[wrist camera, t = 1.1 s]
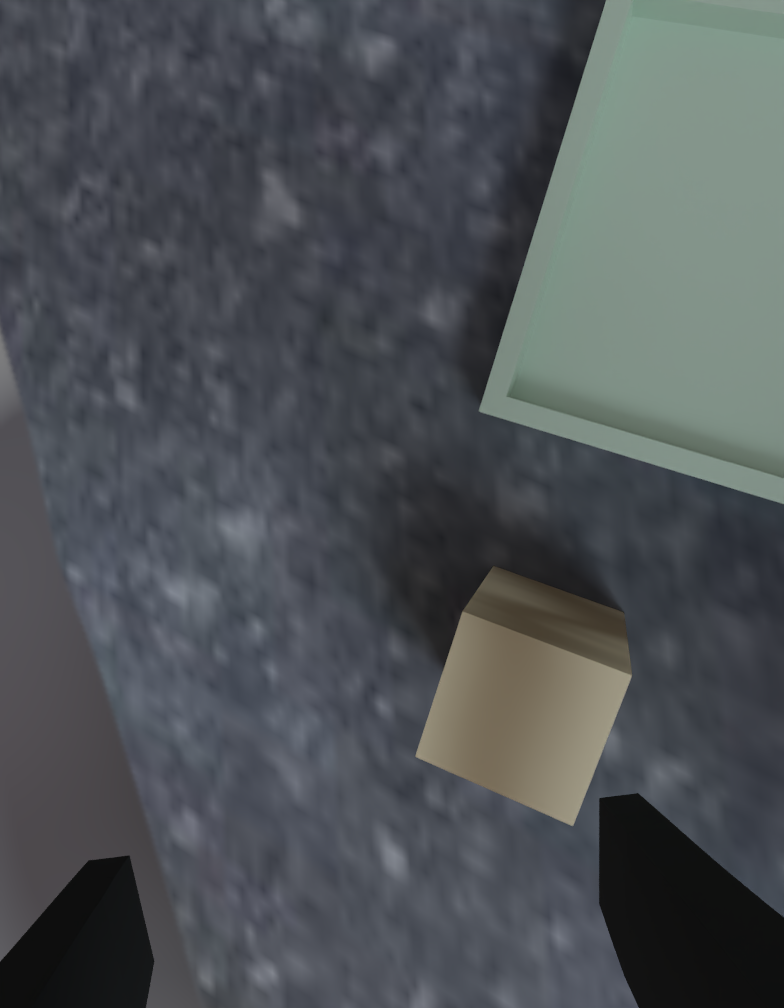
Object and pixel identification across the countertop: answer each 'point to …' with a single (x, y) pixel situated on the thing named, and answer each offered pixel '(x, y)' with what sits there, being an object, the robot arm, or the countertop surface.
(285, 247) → the countertop surface
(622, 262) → the tray
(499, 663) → the beech block
